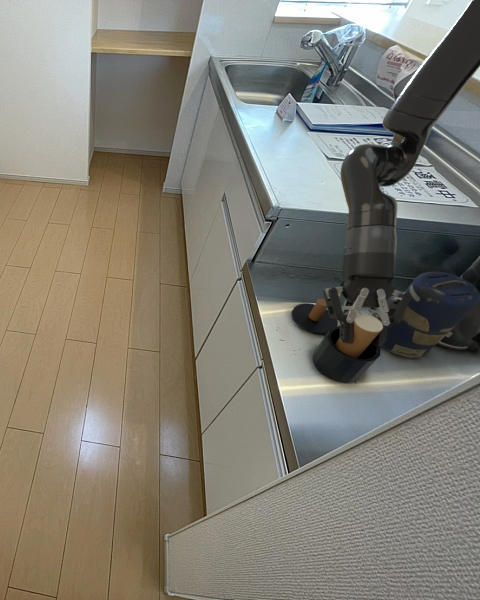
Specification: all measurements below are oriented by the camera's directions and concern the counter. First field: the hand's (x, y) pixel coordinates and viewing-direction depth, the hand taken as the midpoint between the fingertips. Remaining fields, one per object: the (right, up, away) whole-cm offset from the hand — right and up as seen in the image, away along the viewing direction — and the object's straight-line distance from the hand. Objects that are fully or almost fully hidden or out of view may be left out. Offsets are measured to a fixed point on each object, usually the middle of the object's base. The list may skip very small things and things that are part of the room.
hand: (362, 343), depth 64 cm
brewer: (+1, -6, +8) cm, 10 cm away
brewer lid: (+2, +4, +16) cm, 17 cm away
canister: (+17, -1, +11) cm, 20 cm away
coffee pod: (+1, -2, +4) cm, 4 cm away
